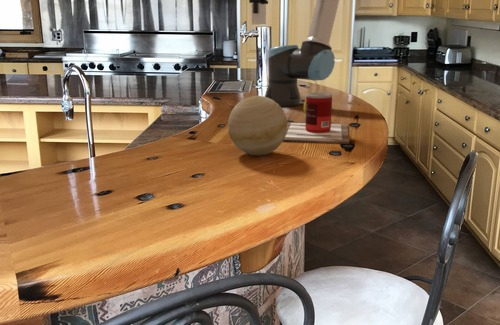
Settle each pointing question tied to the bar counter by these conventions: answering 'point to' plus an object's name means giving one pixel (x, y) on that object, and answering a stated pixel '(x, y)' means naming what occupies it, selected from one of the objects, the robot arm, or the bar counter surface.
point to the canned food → (318, 112)
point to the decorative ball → (257, 125)
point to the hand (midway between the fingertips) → (259, 24)
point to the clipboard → (316, 134)
